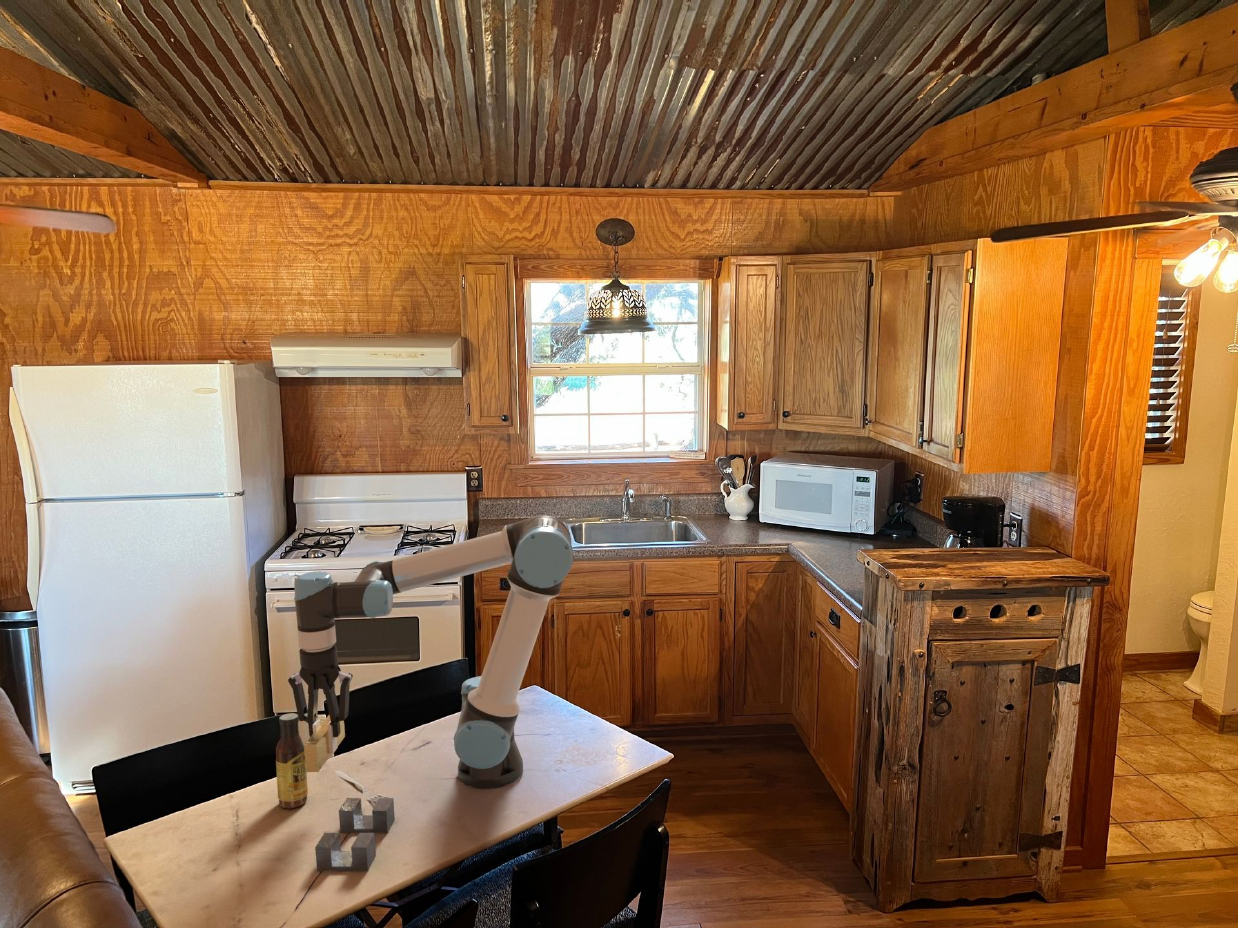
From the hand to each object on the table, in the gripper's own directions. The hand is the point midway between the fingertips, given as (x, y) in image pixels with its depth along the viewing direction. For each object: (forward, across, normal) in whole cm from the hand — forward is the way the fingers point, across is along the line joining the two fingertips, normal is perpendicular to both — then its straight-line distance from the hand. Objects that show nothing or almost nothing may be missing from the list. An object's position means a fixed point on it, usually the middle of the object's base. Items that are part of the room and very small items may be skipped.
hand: (326, 750), depth 190 cm
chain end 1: (+14, -10, +6) cm, 18 cm away
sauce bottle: (+14, +10, -4) cm, 18 cm away
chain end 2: (+14, -10, +18) cm, 25 cm away
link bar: (+1, 0, 0) cm, 1 cm away
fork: (+15, -2, -11) cm, 19 cm away
